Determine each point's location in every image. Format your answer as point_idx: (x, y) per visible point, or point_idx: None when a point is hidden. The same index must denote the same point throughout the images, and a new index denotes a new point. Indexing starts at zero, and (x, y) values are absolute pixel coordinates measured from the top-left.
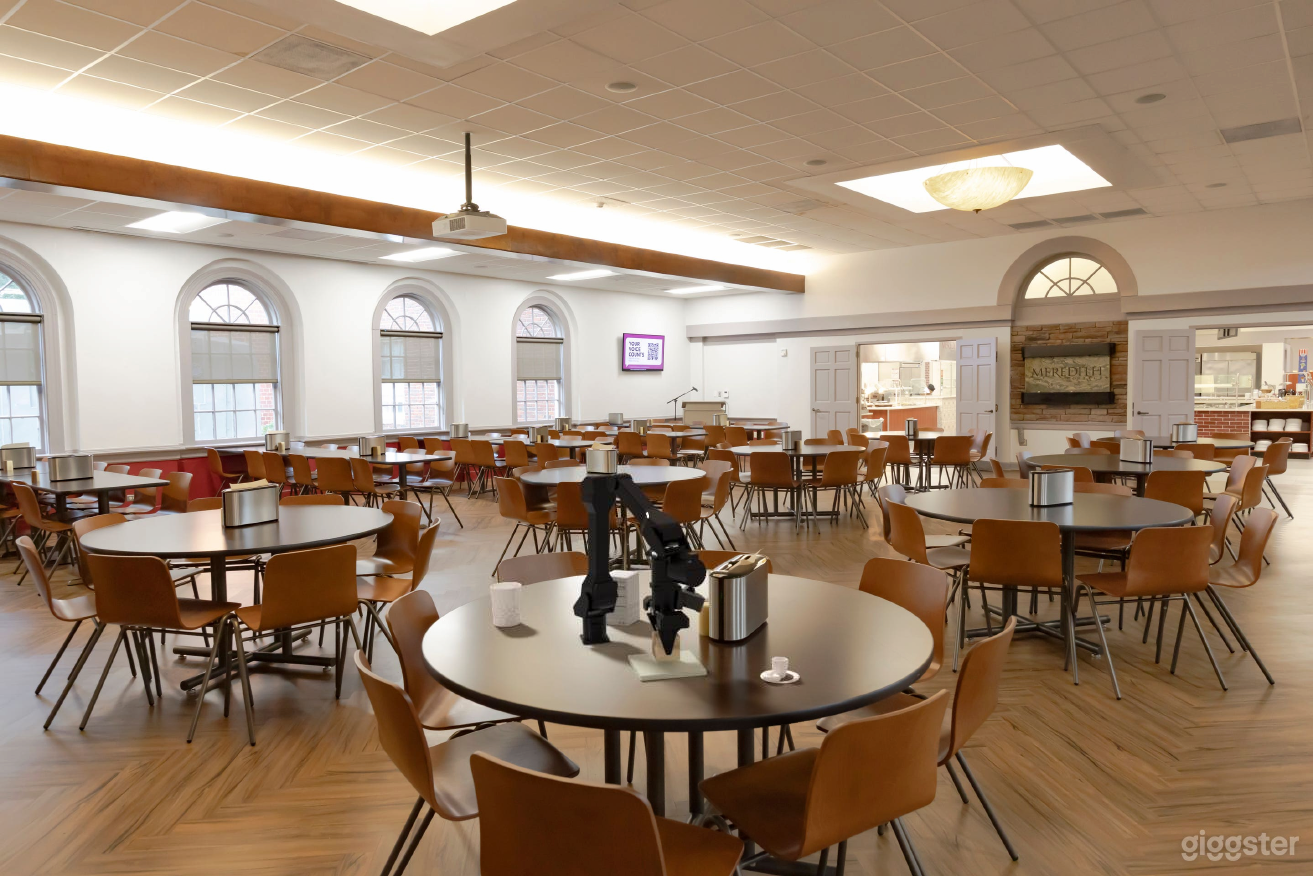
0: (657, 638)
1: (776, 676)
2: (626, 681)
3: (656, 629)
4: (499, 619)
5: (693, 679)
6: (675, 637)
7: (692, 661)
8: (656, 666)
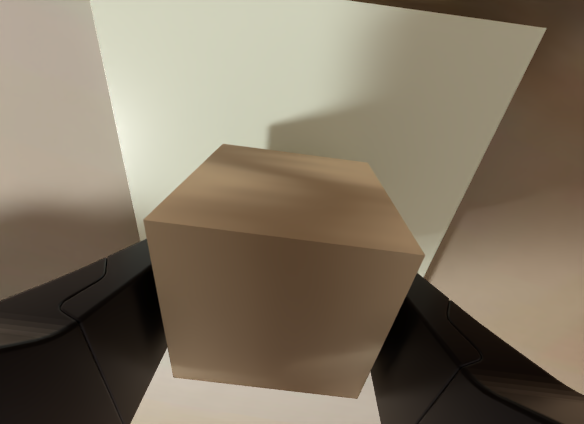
0: (356, 391)
1: None
2: None
3: (151, 363)
4: None
5: (521, 136)
6: (482, 328)
7: (334, 52)
8: None
